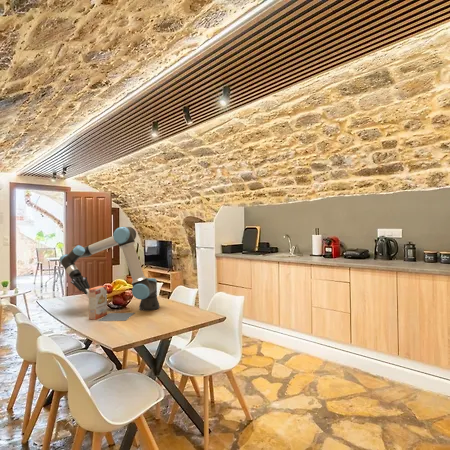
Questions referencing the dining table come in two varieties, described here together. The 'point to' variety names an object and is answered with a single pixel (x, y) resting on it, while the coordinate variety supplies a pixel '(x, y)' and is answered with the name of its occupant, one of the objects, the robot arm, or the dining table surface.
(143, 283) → the robot arm
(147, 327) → the dining table surface
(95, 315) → the cracker box
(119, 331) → the dining table surface
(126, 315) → the mat
